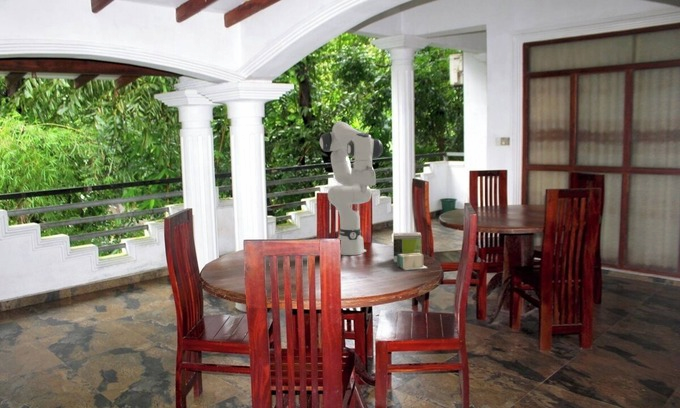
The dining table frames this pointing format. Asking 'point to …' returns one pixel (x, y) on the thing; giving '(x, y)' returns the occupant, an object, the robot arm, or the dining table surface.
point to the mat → (415, 268)
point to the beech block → (410, 260)
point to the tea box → (407, 243)
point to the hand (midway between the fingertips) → (363, 193)
